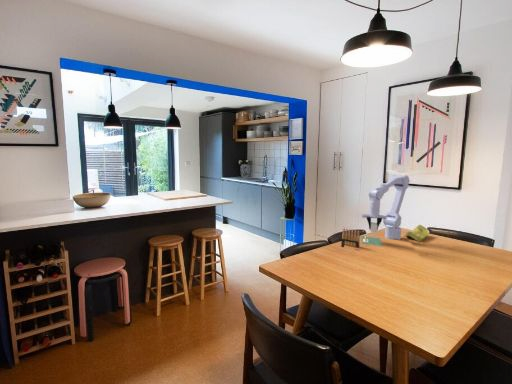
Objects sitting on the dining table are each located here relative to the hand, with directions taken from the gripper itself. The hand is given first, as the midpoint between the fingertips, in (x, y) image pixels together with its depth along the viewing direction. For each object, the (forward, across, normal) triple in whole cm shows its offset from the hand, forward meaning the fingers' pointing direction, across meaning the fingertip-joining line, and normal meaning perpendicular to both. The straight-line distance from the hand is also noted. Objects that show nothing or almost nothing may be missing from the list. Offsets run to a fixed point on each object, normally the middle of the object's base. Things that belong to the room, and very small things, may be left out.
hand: (373, 229), depth 185 cm
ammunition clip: (+10, -14, -14) cm, 22 cm away
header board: (+10, 0, +1) cm, 10 cm away
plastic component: (+10, +31, +26) cm, 42 cm away
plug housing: (+1, 0, 0) cm, 1 cm away
